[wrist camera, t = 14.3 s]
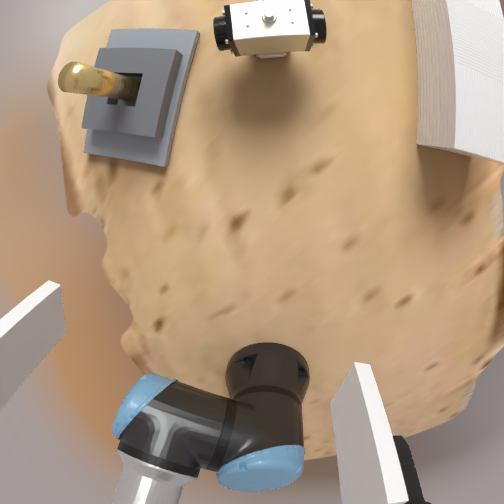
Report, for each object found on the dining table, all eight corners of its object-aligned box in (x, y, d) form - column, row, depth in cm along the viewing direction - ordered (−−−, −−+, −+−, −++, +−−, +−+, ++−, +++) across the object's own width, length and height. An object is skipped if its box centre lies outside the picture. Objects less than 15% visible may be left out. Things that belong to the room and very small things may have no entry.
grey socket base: (167, 165, 40) (155, 169, 36) (89, 152, 40) (72, 154, 36) (200, 34, 33) (191, 23, 29) (116, 32, 32) (101, 24, 28)
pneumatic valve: (316, 60, 33) (331, 31, 22) (229, 66, 34) (211, 40, 23) (311, 26, 31) (323, -12, 20) (225, 32, 33) (207, -3, 21)
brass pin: (141, 102, 35) (77, 91, 22) (122, 100, 35) (55, 92, 22) (146, 80, 34) (85, 61, 20) (126, 79, 34) (62, 62, 20)
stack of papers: (404, -33, 25) (429, -61, 15) (458, -12, 24) (489, -32, 14) (415, 144, 36) (454, 148, 26) (470, 156, 36) (512, 165, 26)
